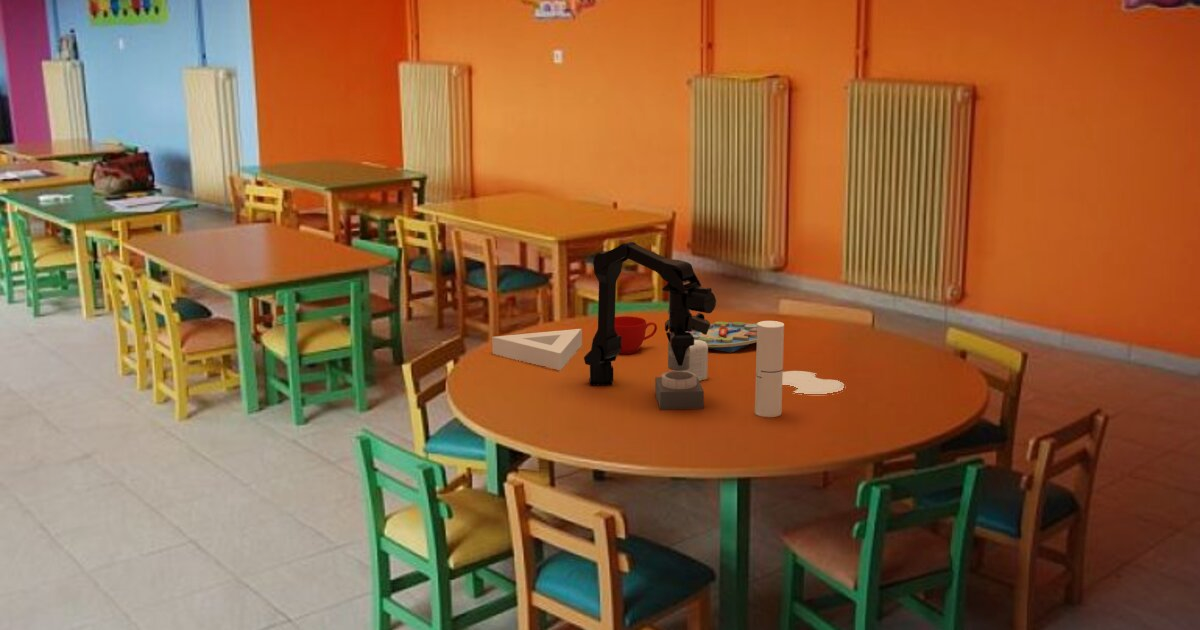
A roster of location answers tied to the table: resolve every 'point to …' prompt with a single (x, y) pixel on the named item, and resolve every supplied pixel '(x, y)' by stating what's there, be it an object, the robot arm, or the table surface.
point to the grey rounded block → (673, 363)
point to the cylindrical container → (769, 368)
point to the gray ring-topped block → (679, 391)
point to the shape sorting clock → (728, 336)
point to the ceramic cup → (632, 332)
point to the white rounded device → (699, 359)
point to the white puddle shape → (810, 383)
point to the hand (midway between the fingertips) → (678, 362)
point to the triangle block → (540, 347)
